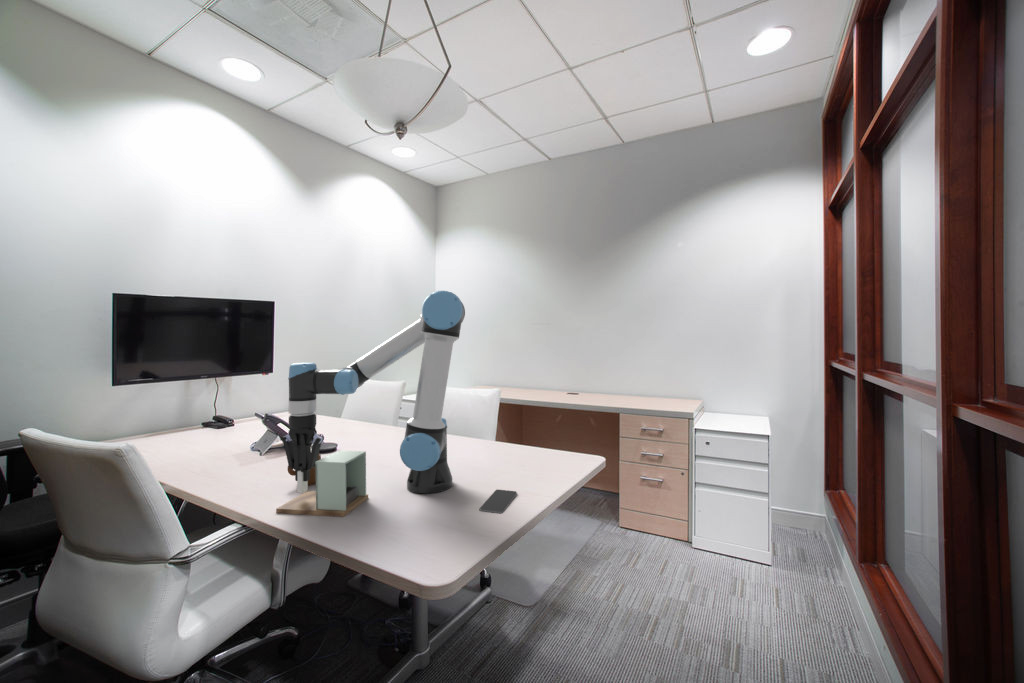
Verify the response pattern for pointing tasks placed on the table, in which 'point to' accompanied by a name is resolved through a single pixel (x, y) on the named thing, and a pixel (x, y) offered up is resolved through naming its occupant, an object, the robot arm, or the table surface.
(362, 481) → the cover
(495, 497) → the smartphone
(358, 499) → the board
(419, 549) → the table surface
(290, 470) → the mug
